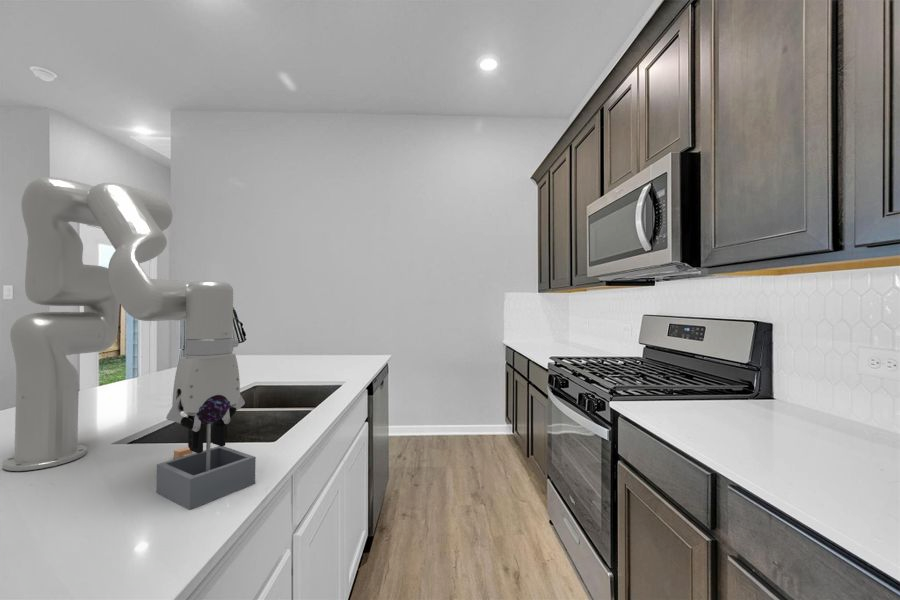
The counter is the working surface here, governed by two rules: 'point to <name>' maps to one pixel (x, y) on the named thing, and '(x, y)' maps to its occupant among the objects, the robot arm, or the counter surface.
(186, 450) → the cable run
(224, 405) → the lollipop
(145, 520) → the counter surface
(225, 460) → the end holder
